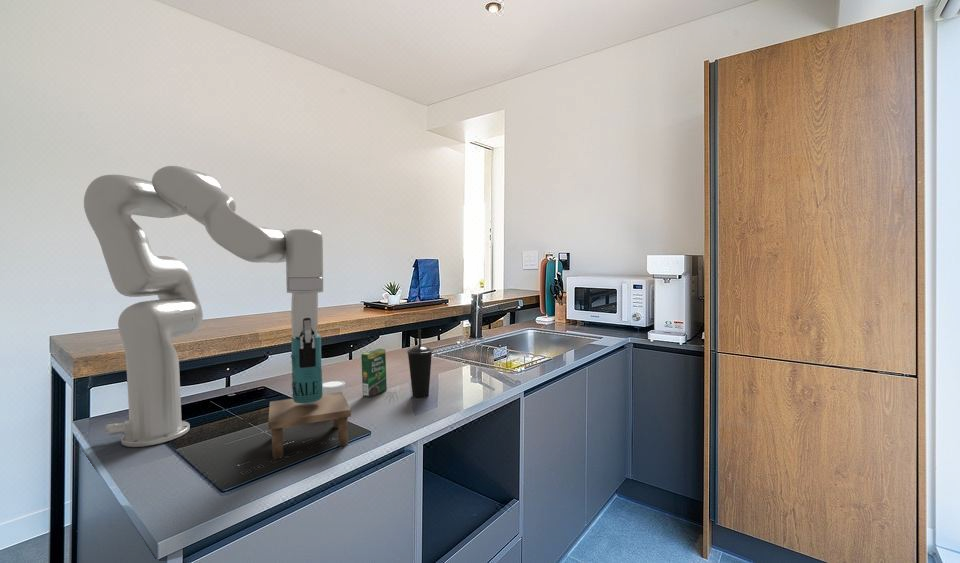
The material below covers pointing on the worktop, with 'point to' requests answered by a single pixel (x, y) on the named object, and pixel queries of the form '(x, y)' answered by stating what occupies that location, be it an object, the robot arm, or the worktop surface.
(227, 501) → the worktop surface
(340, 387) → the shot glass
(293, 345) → the beverage bottle
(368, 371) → the coffee box
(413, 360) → the drinking cup
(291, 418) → the walnut stool
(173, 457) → the worktop surface
